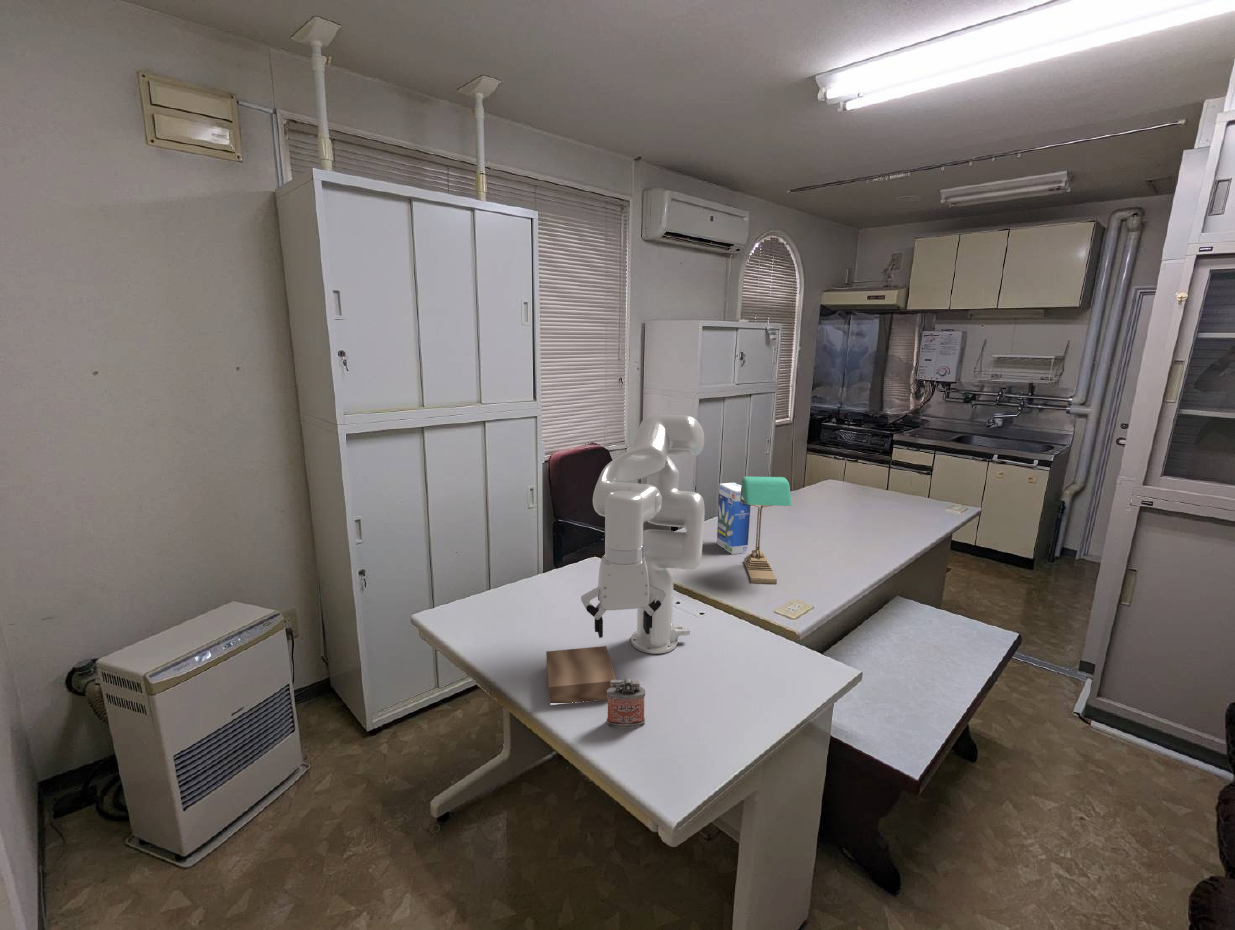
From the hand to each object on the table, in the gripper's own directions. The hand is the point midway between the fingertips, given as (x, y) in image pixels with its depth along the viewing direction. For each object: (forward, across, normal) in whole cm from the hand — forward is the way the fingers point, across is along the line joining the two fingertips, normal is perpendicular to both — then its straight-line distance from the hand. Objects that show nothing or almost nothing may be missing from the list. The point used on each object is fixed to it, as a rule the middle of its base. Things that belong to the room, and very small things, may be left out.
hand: (623, 632), depth 111 cm
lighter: (+21, -1, 0) cm, 21 cm away
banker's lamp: (+20, -62, -72) cm, 97 cm away
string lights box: (+20, -62, -98) cm, 118 cm away
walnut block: (+21, +8, -16) cm, 27 cm away
